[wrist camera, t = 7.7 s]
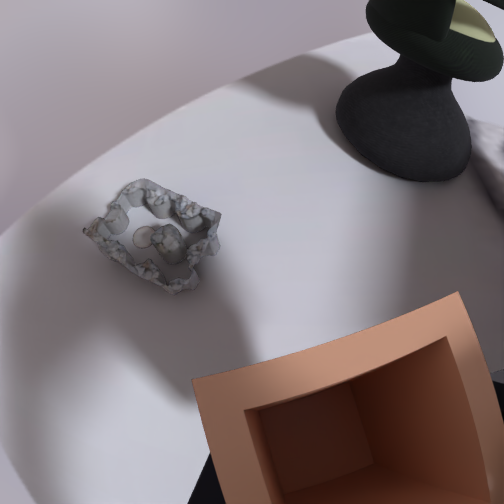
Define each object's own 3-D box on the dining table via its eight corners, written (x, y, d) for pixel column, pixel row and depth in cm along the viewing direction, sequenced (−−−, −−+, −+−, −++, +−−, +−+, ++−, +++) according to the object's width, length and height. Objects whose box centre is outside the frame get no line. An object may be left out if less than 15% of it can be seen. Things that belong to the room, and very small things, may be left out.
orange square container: (387, 467, 12) (517, 506, 3) (271, 507, 12) (273, 620, 3) (354, 363, 15) (458, 291, 6) (238, 399, 14) (191, 379, 6)
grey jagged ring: (96, 252, 28) (75, 230, 24) (144, 193, 31) (130, 166, 27) (183, 310, 25) (168, 292, 21) (233, 237, 28) (228, 210, 24)
